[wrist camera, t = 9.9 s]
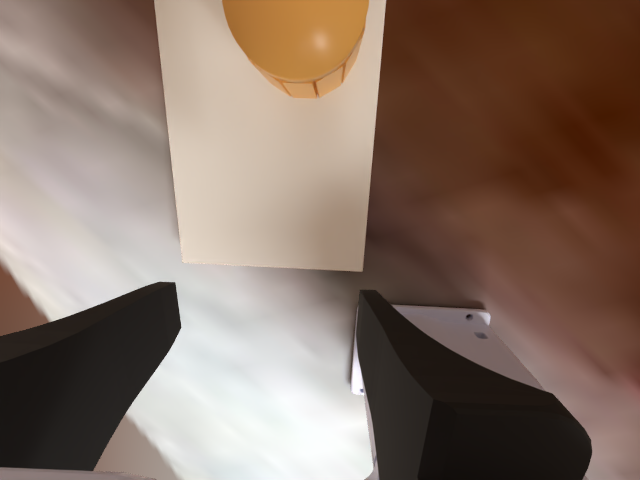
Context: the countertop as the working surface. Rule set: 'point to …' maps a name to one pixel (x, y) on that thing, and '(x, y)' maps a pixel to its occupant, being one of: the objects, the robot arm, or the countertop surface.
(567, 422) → the robot arm
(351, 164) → the mounting plate
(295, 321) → the countertop surface
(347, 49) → the cupcake
